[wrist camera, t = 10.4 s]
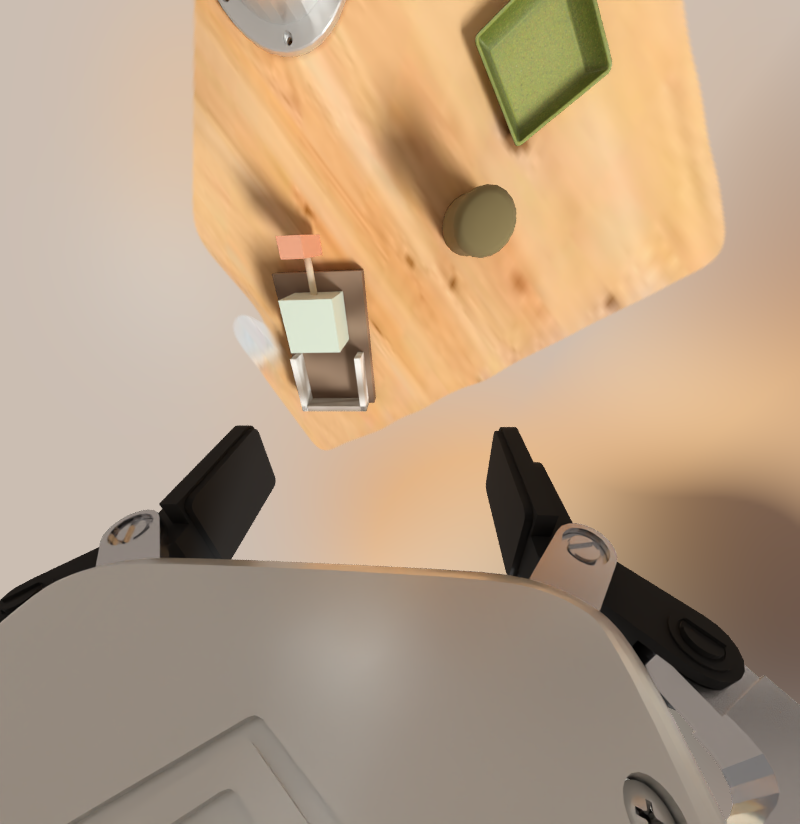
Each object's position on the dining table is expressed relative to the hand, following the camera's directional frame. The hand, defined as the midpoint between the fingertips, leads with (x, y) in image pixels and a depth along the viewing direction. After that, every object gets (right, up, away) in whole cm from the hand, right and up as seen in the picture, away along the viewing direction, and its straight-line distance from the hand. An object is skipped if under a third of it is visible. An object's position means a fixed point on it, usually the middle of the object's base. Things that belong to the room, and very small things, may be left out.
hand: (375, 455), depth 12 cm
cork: (+9, +23, +21) cm, 32 cm away
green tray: (+13, +33, +15) cm, 39 cm away
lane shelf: (-9, +12, +29) cm, 33 cm away
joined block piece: (-9, +17, +24) cm, 31 cm away
